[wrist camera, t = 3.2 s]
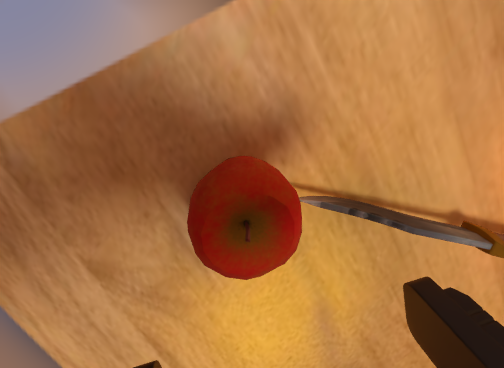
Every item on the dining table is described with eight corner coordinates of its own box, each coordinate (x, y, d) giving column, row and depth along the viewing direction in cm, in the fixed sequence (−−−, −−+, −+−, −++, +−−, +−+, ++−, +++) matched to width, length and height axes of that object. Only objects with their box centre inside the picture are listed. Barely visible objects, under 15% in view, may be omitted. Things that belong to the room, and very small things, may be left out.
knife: (280, 194, 26) (300, 226, 21) (285, 176, 25) (307, 204, 21) (549, 249, 31) (611, 283, 27) (557, 234, 31) (622, 267, 26)
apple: (220, 122, 23) (233, 153, 16) (296, 170, 25) (337, 215, 18) (170, 202, 25) (163, 261, 18) (246, 241, 26) (266, 309, 20)
